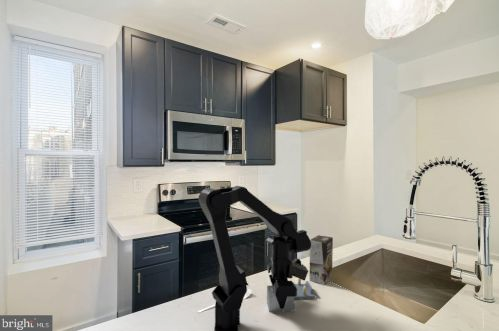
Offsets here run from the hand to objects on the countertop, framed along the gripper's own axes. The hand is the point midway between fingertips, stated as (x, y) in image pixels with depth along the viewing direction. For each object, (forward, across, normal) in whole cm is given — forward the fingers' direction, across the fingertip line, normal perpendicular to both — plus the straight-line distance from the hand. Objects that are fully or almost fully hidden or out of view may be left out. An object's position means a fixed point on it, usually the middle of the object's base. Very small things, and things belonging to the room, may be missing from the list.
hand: (280, 304), depth 81 cm
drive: (+1, 0, 0) cm, 1 cm away
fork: (+2, +4, +18) cm, 18 cm away
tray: (+1, +9, -7) cm, 11 cm away
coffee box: (+1, +19, -20) cm, 28 cm away
